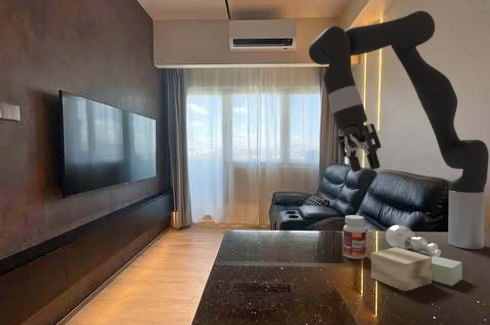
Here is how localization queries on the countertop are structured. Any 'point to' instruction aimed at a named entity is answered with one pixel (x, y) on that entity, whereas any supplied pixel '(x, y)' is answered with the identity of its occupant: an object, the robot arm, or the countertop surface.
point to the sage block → (446, 270)
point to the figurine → (410, 241)
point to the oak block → (401, 268)
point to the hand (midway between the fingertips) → (365, 170)
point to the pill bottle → (354, 237)
